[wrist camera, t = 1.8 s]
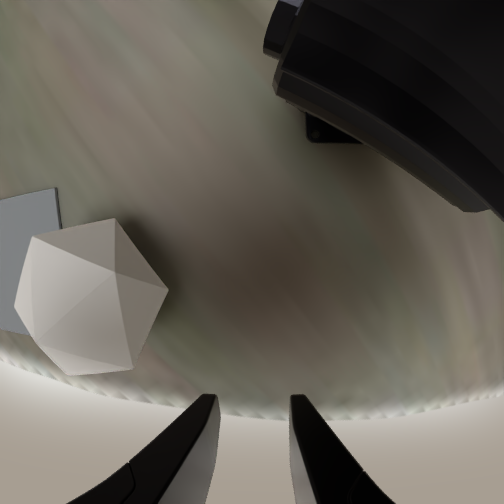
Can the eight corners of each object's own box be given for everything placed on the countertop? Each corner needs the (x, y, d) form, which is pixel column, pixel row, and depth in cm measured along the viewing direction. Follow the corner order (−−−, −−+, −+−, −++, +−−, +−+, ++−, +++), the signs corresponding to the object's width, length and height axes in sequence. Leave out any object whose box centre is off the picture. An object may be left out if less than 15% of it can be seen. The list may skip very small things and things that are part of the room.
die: (57, 257, 20) (-33, 308, 11) (129, 183, 19) (22, 206, 9) (122, 341, 22) (59, 426, 12) (206, 286, 20) (156, 382, 11)
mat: (56, 187, 19) (54, 188, 19) (88, 343, 22) (87, 345, 22) (-32, 208, 20) (-34, 208, 20) (-4, 326, 23) (-5, 327, 23)
